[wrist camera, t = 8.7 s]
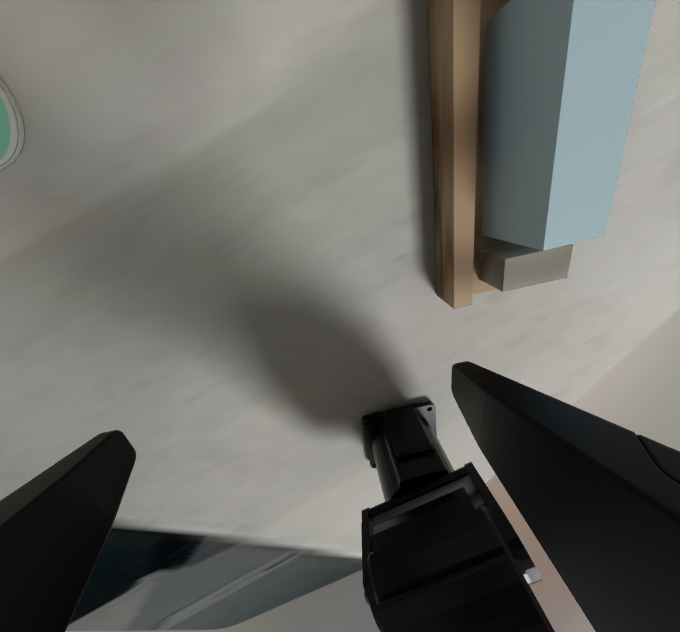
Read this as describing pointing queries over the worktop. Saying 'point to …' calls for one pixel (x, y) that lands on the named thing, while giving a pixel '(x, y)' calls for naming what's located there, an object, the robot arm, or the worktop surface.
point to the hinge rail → (470, 164)
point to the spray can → (9, 127)
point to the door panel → (558, 115)
